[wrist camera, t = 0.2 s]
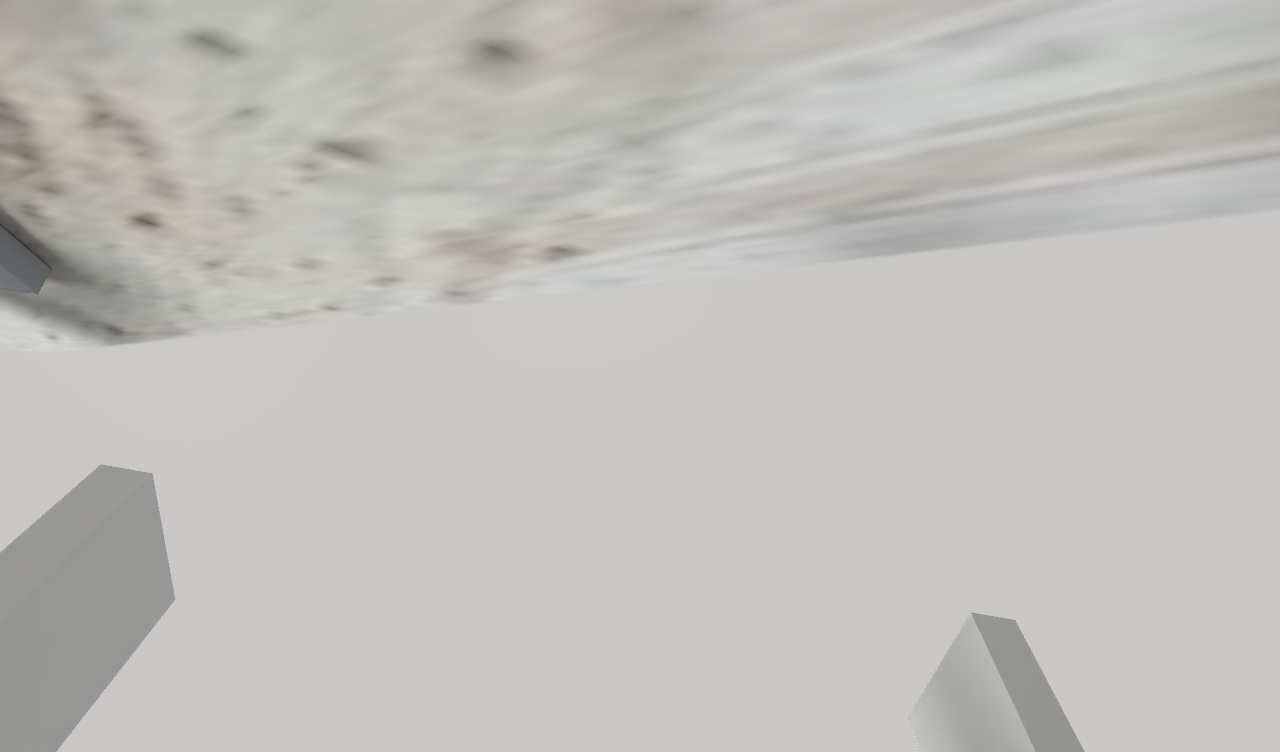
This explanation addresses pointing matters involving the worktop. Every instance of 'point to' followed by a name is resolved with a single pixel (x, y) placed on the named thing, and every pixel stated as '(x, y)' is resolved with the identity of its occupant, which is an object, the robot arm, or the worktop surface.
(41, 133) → the worktop surface
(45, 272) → the plate
